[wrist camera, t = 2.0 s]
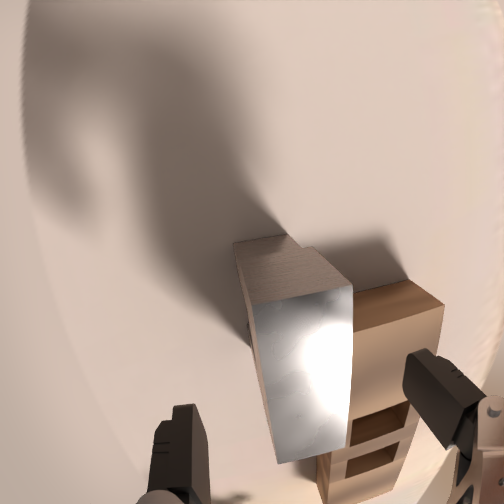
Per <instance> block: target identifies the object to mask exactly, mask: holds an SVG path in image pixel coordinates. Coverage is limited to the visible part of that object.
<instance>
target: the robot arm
mask: <svg viewBox="0 0 504 504" xmlns="http://www.w3.org/2000/svg"><path fill="white" fill-rule="evenodd" d="M402 388H403V392H404V395H405V397H406V398H407V399H408V401H409V402H410V403H411V405H412V406H413V407H414V409H415V410H416V411H417V413H418V414H419V415H420V416H421V418H422V419H423V420H424V422H425V423H426V424H427V426H428V427H429V428H430V430H431V431H432V432H433V434H434V435H435V436H436V438H437V439H438V440H439V442H440V443H441V444H442V446H443V447H444V448H445V450H448V449H450V448H452V447H454V446H455V445H456V446H457V447H458V448H459V449H458V451H457V456H456V464H455V471H454V478H453V485H452V490H451V494H450V497H449V499H448V501H447V504H504V398H503V397H500V396H496V395H491V396H486V395H485V394H484V393H483V392H482V391H481V390H480V389H479V388H478V387H477V386H476V385H475V384H474V383H473V382H472V381H471V380H469V379H468V378H467V377H466V376H464V374H463V373H462V372H461V371H460V370H458V369H457V367H456V366H455V365H454V364H453V363H452V362H450V361H449V360H447V359H445V358H443V357H440V356H437V357H436V356H435V355H434V354H433V353H431V352H430V351H429V350H428V349H427V348H423V349H420V350H418V351H415V352H412V353H409V354H408V355H407V357H406V363H405V370H404V376H403V382H402ZM153 443H154V445H153V449H152V457H151V465H150V473H149V482H148V489H147V493H146V494H144V495H143V496H142V497H141V498H140V499H139V500H138V502H137V503H136V504H211V498H210V479H209V457H208V441H207V435H206V432H205V429H204V426H203V423H202V421H201V418H200V415H199V413H198V410H197V407H196V405H195V404H186V405H176V406H174V407H173V414H172V420H165V421H162V422H161V423H160V425H159V426H158V428H157V429H156V431H155V435H154V442H153Z"/></svg>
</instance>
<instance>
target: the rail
mask: <svg viewBox="0 0 504 504" xmlns="http://www.w3.org/2000/svg"><path fill="white" fill-rule="evenodd" d="M444 308H445V304H443V303H442V302H440V301H439V300H438V299H436V298H435V297H434V296H432V295H431V294H429V293H428V292H427V291H425V290H424V289H422V288H421V287H419V286H418V285H417V284H415V283H414V282H412V281H411V280H406V281H402V282H398V283H394V284H390V285H386V286H382V287H378V288H374V289H370V290H365V291H361V292H357V293H353V338H352V366H351V385H350V399H349V412H348V423H347V434H346V443H345V447H344V448H341V449H338V450H334V451H331V452H327V453H324V454H320V455H317V470H316V484H317V487H318V490H319V493H320V496H321V499H322V502H323V504H357V503H360V502H362V501H365V500H368V499H371V498H374V497H376V496H379V495H381V494H384V493H386V492H389V491H391V490H393V487H394V485H395V483H396V481H397V478H398V476H399V473H400V471H401V469H402V466H403V464H404V461H405V458H406V456H407V453H408V451H409V448H410V445H411V442H412V439H413V437H414V434H415V431H416V428H417V425H418V421H419V418H420V415H419V414H418V413H417V411H416V410H415V409H414V407H413V406H412V405H411V403H410V402H409V401H408V399H407V398H406V397H405V395H404V392H403V388H402V382H403V376H404V370H405V363H406V357H407V355H408V354H409V353H412V352H415V351H418V350H420V349H423V348H427V349H428V350H429V351H430V352H431V353H433V354H434V355H435V356H436V353H437V348H438V343H439V338H440V332H441V327H442V321H443V314H444Z"/></svg>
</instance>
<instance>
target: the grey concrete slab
mask: <svg viewBox="0 0 504 504" xmlns="http://www.w3.org/2000/svg"><path fill="white" fill-rule="evenodd" d="M233 245H234V252H235V258H236V264H237V270H238V275H239V280H240V284H241V288H242V292H243V296H244V300H245V304H246V308H247V313H248V318H249V324H247V328H248V334H249V340H250V345H251V350H252V355H253V359H254V364H255V368H256V373H257V377H258V381H259V386H260V390H261V394H262V399H263V405H264V409H265V413H266V417H267V422H268V426H269V430H270V434H271V439H272V443H273V447H274V451H275V455H276V459H277V463H278V464H282V463H287V462H291V461H296V460H300V459H304V458H308V457H312V456H316V455H320V454H324V453H327V452H331V451H334V450H338V449H341V448H344V447H345V443H346V434H347V423H348V412H349V399H350V385H351V366H352V338H353V284H352V283H351V282H350V281H348V280H347V279H346V278H345V277H344V276H343V275H342V274H341V273H340V272H339V271H338V270H337V269H336V268H335V267H334V266H333V265H332V264H331V263H329V262H328V261H327V260H326V259H325V258H324V257H323V256H322V255H321V254H320V253H319V252H318V251H317V250H315V249H314V248H313V247H307V248H301V247H300V246H299V245H298V244H297V243H296V242H295V241H294V240H293V239H292V238H291V237H290V236H289V234H286V235H280V236H274V237H268V238H262V239H256V240H250V241H244V242H238V243H233Z"/></svg>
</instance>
